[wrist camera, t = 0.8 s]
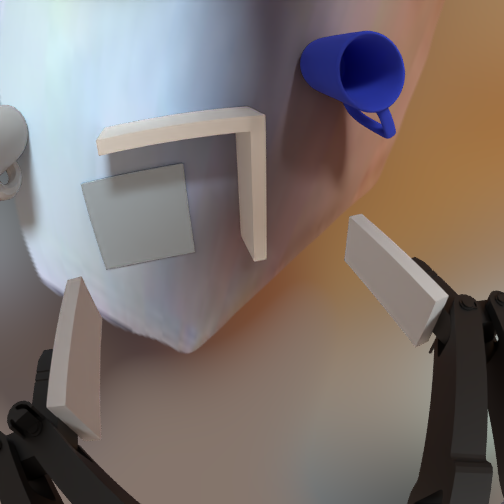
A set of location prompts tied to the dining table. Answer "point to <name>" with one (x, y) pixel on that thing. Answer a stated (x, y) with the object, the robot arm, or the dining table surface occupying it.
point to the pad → (140, 215)
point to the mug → (357, 75)
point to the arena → (208, 124)
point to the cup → (11, 148)
